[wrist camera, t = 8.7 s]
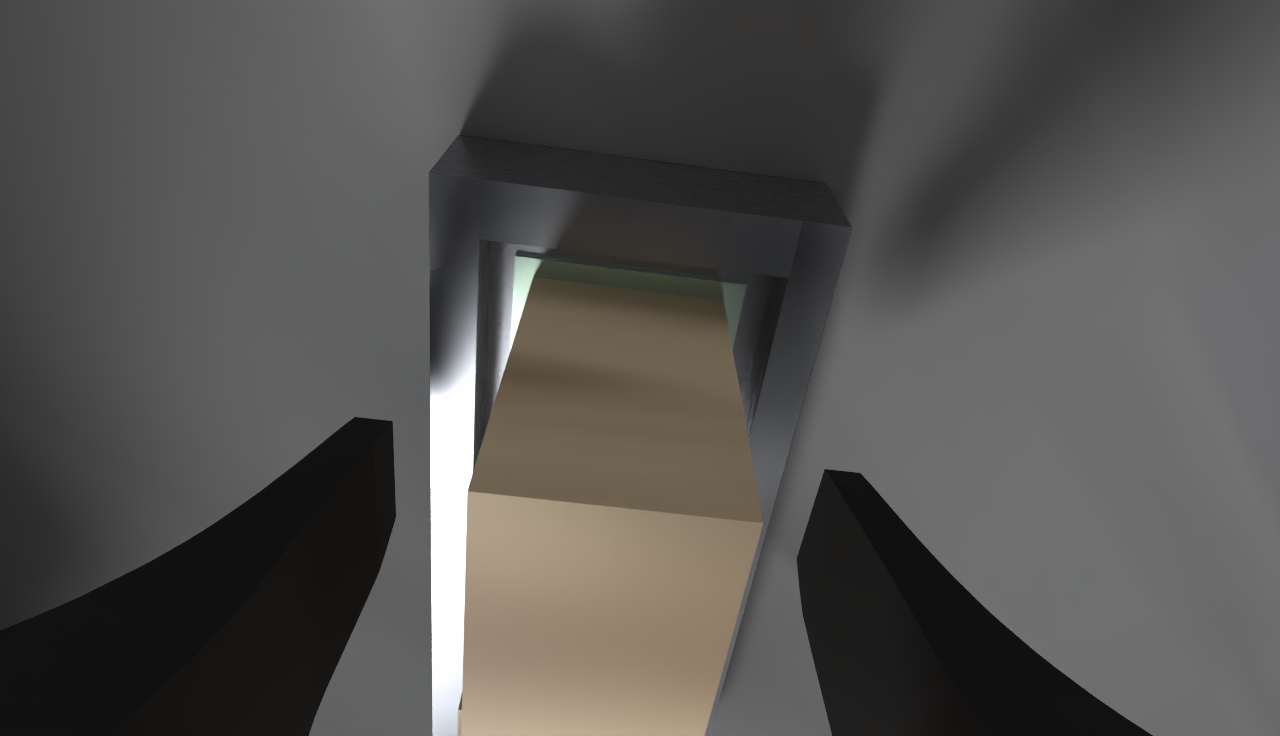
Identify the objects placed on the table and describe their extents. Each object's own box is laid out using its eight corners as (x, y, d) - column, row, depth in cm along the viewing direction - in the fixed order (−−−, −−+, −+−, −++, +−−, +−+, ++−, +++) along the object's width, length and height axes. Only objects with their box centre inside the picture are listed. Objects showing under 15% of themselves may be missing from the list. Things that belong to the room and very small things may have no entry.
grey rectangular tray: (687, 726, 23) (690, 801, 21) (451, 704, 22) (433, 779, 20) (825, 184, 15) (852, 226, 13) (458, 135, 14) (429, 172, 12)
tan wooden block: (678, 522, 17) (689, 787, 12) (517, 504, 17) (460, 768, 12) (723, 300, 15) (763, 524, 9) (533, 277, 14) (466, 491, 9)
